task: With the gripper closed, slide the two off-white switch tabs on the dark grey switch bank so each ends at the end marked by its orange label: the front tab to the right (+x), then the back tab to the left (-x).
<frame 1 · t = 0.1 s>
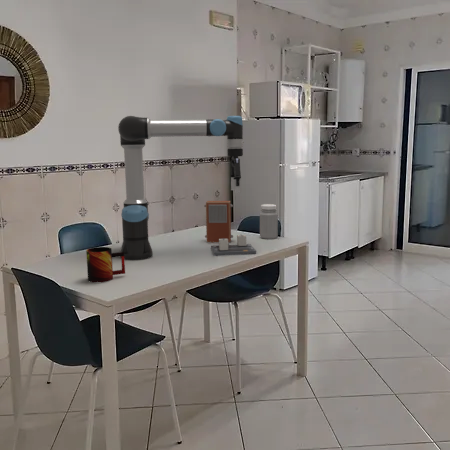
hand: (235, 191, 258), 28 cm above the table, fingers open, 13 cm apart
tab back: (241, 240, 256), point 5 cm above the table, slide at 10.0 cm
orange rectangular box: (218, 241, 276), on the table
tab front: (223, 244, 247), point 5 cm above the table, slide at 0.0 cm
mug: (104, 278, 207), on the table
jar: (268, 238, 284), on the table
switch bank: (232, 251, 252), on the table
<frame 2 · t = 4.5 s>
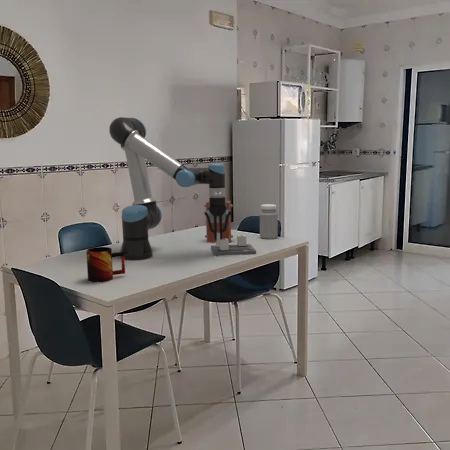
hand: (218, 246, 246), 4 cm above the table, fingers closed
tab front: (224, 244, 247), point 5 cm above the table, slide at 0.2 cm, touching gripper
everything else where it was.
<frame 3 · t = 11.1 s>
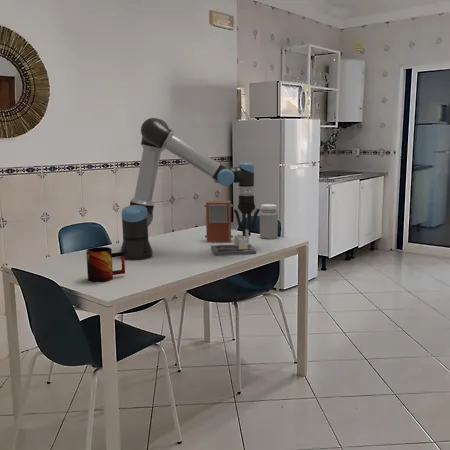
hand: (246, 242, 256), 3 cm above the table, fingers closed
tab back: (239, 240, 256), point 5 cm above the table, slide at 8.7 cm, touching gripper
tab front: (242, 243, 248), point 5 cm above the table, slide at 9.3 cm
everything else where it was.
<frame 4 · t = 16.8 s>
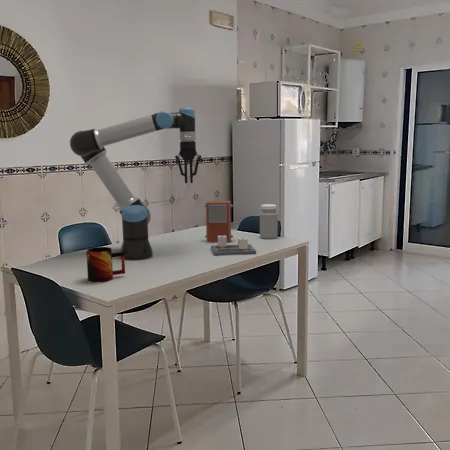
hand: (189, 189, 253), 29 cm above the table, fingers closed
tab back: (222, 240, 254), point 5 cm above the table, slide at 0.3 cm
everything else where it was.
at the end: tab front slide at 9.3 cm; tab back slide at 0.3 cm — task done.
